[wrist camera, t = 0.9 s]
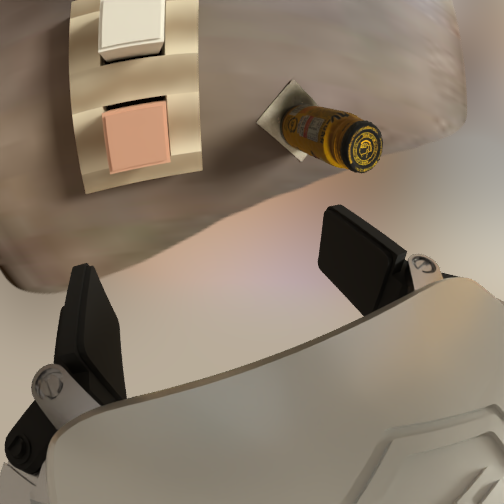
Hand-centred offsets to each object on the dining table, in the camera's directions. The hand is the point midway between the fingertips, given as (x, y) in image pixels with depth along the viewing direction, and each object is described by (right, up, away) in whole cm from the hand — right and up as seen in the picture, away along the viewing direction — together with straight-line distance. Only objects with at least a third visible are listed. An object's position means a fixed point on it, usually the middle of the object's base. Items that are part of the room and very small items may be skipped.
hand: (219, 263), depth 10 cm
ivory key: (-10, +21, +7) cm, 24 cm away
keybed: (-11, +18, +12) cm, 24 cm away
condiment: (+7, +17, +21) cm, 28 cm away
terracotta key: (-10, +12, +12) cm, 20 cm away
